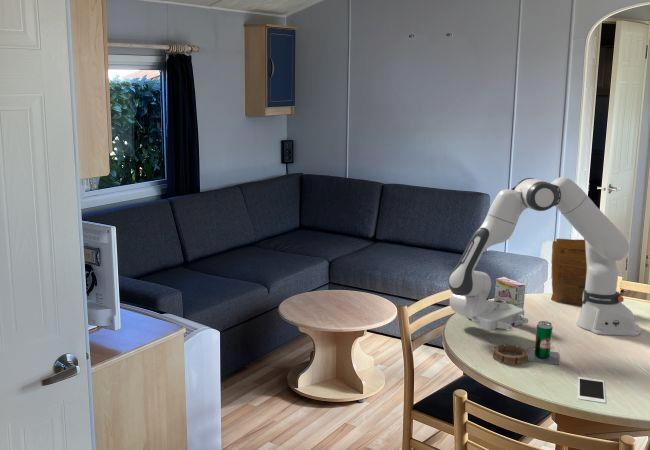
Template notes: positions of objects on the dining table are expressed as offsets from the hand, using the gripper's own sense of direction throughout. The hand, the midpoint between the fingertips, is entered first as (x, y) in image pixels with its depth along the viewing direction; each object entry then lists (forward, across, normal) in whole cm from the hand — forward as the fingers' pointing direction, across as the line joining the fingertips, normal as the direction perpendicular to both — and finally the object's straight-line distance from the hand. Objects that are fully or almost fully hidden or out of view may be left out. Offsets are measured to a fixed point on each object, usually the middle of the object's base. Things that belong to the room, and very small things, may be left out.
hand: (518, 324), depth 252 cm
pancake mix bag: (-15, +57, +9) cm, 59 cm away
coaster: (+11, 0, +9) cm, 14 cm away
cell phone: (+34, -9, +9) cm, 37 cm away
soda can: (+10, 0, +8) cm, 13 cm away
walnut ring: (+4, -10, +9) cm, 14 cm away
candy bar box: (-18, +18, +9) cm, 27 cm away
